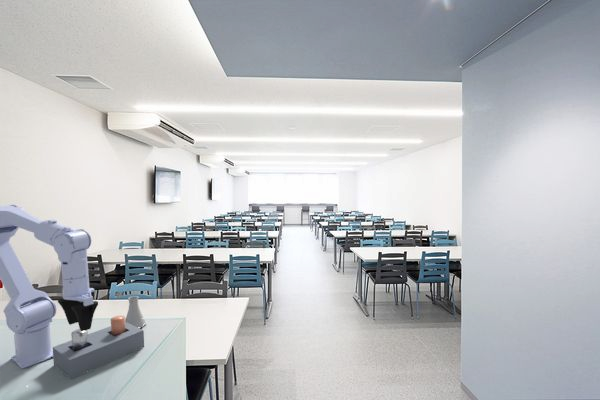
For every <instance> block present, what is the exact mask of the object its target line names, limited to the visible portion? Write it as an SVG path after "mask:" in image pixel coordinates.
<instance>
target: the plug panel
mask: <svg viewBox="0 0 600 400" xmlns="http://www.w3.org/2000/svg"><path fill="white" fill-rule="evenodd" d="M125 331H126V332H124V333H122V334H119V335H117V336H113V335H112V334H111V325H110V326H107V327H105V328H104V327H103V328H101V329H98V330H97V331H94V332H91V333H88V347H86V348H83V349H81V350H78V351H73V350H72V339H71V340H69V341H66V342H63V343H61V344H58V345H55V346H52V350H53V357H52V358H53V359H52V360H53V366H54V367H55V368H56V369H58V370H59V371H60V372H61V373H63V374H64V375H65V376H66V377H68V379H70V380H73V379H75V378H77V377H79V376H82V375H84V374H86V373H88V372H87V371H89V372H90V370H91V371H93V370H95V369H97V368H99V367H102V366H105V365H106V364H109V363H111V362H114V361H116V360H117V359H119V358H122V357H124V356H126V355H129V354H130V353H133V352H136V351H138V350H140V349H142V348H144V347H145V334H144V331H145V330H143V328H142V329H140V328H138V327H136V326H133V325H131V324H129V323H127V322H125ZM92 369H93V370H92ZM85 372H86V373H85ZM83 373H84V374H83ZM81 374H82V375H81Z"/></svg>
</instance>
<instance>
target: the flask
mask: <svg viewBox="0 0 600 400" xmlns="http://www.w3.org/2000/svg"><path fill="white" fill-rule="evenodd" d="M139 298H140V297H139V295H138V296H137V295H134V296H128V298H127V299H128V302H129V305H128V309H127V314H126V317H125V322H127V323H129V324H131V325H133V326H136V327H142V326H143V324H144V323H145V322H146V320H145V318H144V316H143V314H142V312H141V310H140V307H139V301H138V300H139ZM142 318H144V319H142Z"/></svg>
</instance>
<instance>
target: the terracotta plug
mask: <svg viewBox="0 0 600 400" xmlns="http://www.w3.org/2000/svg"><path fill="white" fill-rule="evenodd" d="M125 319H126V317H125V315H116V316H113V317H111V318H110V326H111V334H112V335H113V336H117V335H119V334H122V333H124V332H126V331H125Z"/></svg>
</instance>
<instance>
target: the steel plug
mask: <svg viewBox="0 0 600 400" xmlns="http://www.w3.org/2000/svg"><path fill="white" fill-rule="evenodd" d="M88 330H89V329H88ZM88 330H86V331H83V332H82V331H81V330H80V328H78V329H75V330H73V331H71V334H70V335H71V340H72V350H73V351H78V350H81V349H83V348H86V347H88V334H89V333H88V332H89V331H88Z"/></svg>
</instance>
